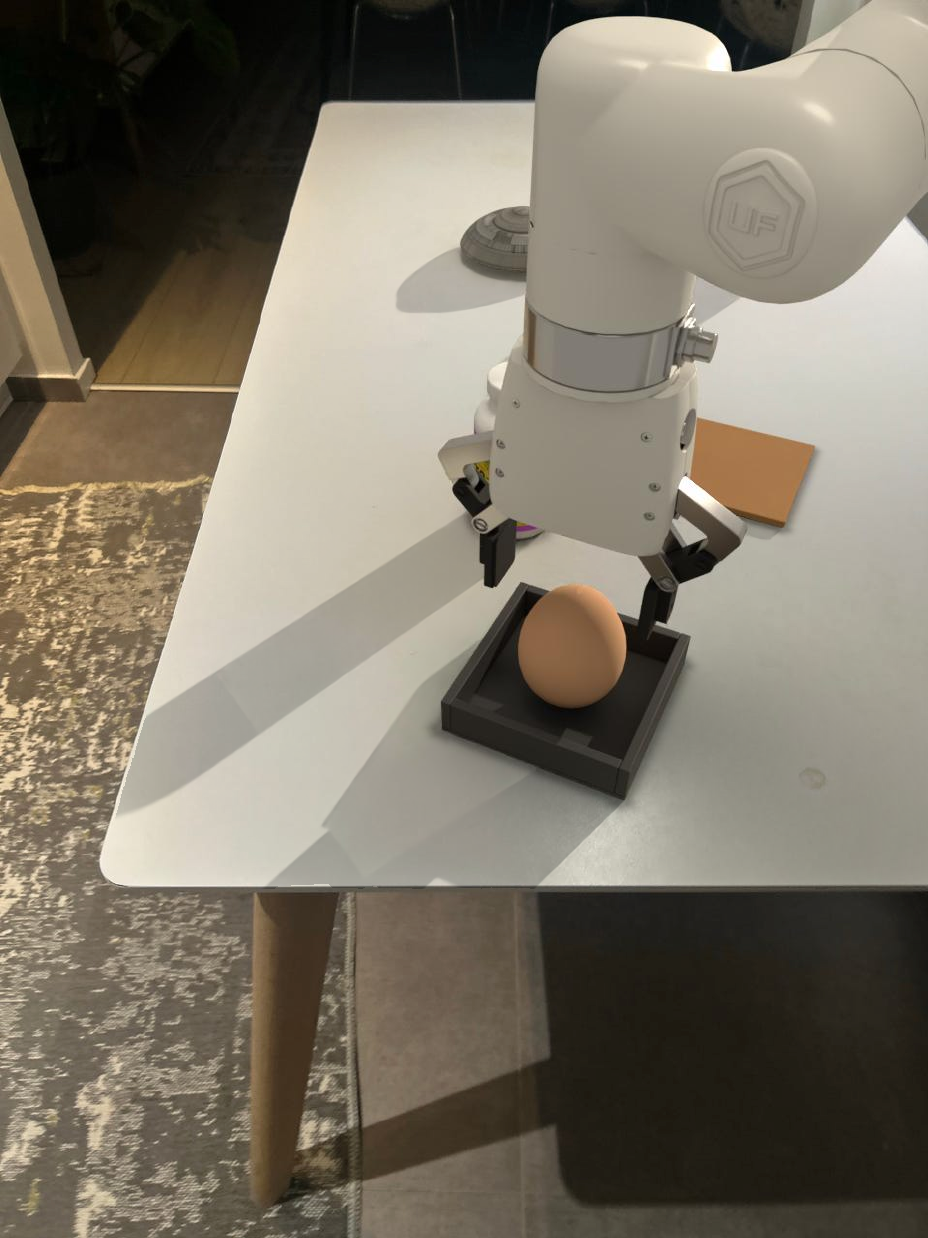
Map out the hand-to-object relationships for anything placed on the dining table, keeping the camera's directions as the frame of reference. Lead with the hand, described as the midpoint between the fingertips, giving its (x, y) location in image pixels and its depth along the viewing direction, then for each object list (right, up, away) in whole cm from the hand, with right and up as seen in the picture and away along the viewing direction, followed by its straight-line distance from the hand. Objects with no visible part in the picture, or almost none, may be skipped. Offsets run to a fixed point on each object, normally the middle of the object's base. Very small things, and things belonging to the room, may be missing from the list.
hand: (572, 598), depth 55 cm
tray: (0, -6, +6) cm, 9 cm away
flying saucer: (+1, +43, +56) cm, 71 cm away
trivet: (+16, +12, +24) cm, 31 cm away
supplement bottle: (-2, +7, +20) cm, 21 cm away
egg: (0, -6, +6) cm, 9 cm away
